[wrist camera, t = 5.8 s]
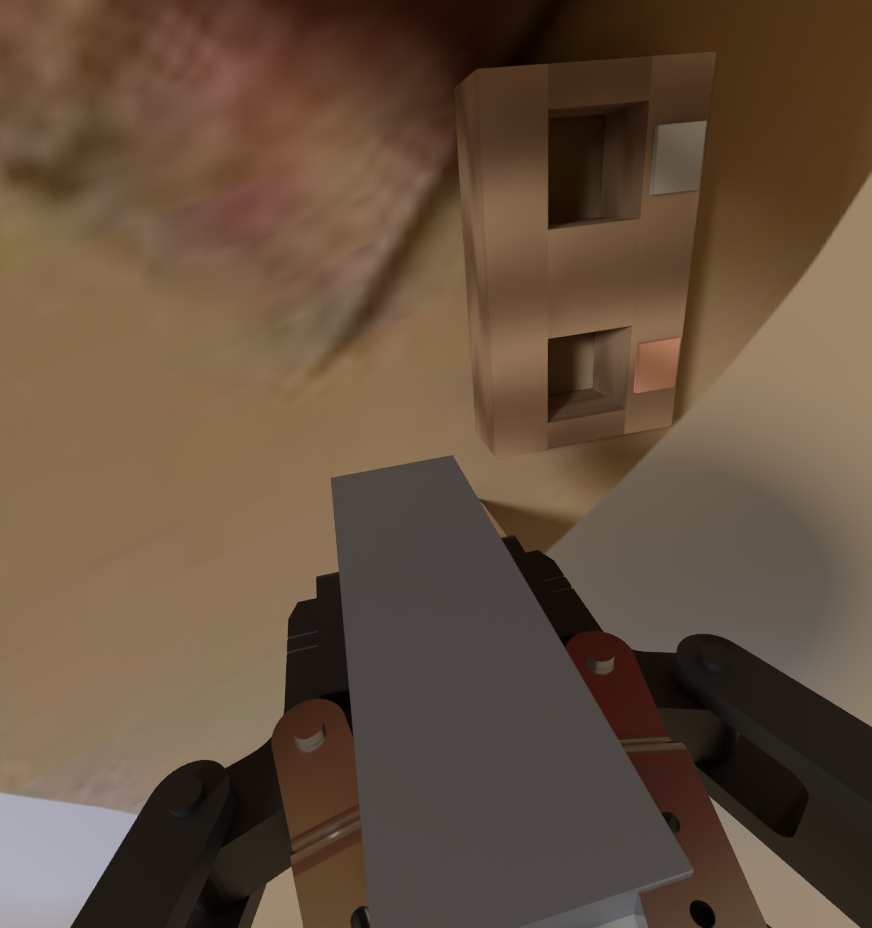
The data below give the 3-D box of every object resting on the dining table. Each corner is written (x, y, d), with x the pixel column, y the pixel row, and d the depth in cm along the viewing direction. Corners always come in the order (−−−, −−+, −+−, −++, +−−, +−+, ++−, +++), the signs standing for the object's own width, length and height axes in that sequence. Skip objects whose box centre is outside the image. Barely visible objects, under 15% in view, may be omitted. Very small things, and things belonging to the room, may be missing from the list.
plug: (330, 478, 15) (384, 1093, 5) (452, 455, 15) (747, 960, 5) (352, 576, 17) (426, 1191, 6) (461, 552, 17) (696, 1083, 7)
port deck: (453, 88, 25) (479, 67, 21) (662, 71, 26) (721, 49, 23) (476, 432, 33) (497, 461, 29) (634, 403, 35) (674, 427, 31)
